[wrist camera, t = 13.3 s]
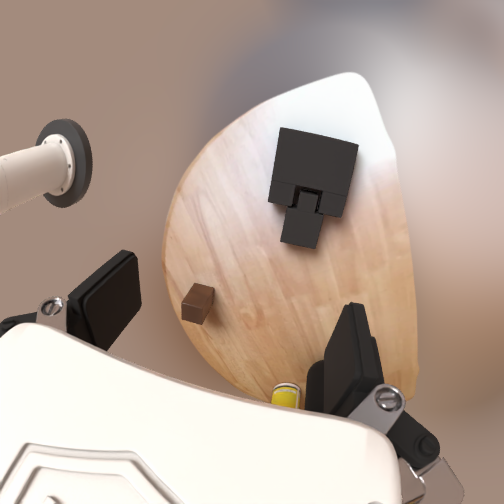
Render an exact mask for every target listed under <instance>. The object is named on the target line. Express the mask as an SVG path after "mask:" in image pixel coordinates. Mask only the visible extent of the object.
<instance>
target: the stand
mask: <svg viewBox="0 0 504 504" xmlns="http://www.w3.org/2000/svg"><path fill="white" fill-rule="evenodd" d="M213 294H214V288H213V287H209V286H205V285H201V284H197V283H194V285H193V286H192V288H191V289H190V291H189V292H188V294H187V295H186V297H185V298H184V300H183V301H182V303H181V309H182V320H186V321H189V322H193V323H196V324H200V325H202V324H203V322H204V320H205V318H206V316H207V314H208V312H209V310H210V308H211V306H212V304H213Z"/></svg>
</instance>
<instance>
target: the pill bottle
mask: <svg viewBox="0 0 504 504" xmlns="http://www.w3.org/2000/svg"><path fill="white" fill-rule="evenodd" d="M300 394H301V391H300V388H299V387H298V386H296V385H295V384H292V383H281V384H278V385H276V386H275V387H274V389H273V394H272V400H271V404H274V405H279V406H284V407H289V408H295V409H299V406H300Z"/></svg>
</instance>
